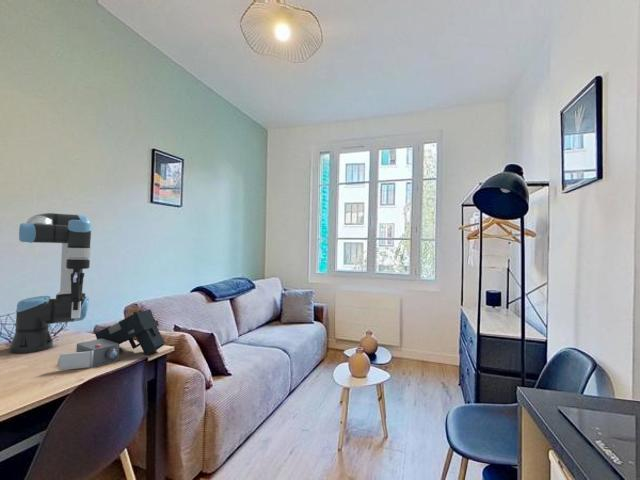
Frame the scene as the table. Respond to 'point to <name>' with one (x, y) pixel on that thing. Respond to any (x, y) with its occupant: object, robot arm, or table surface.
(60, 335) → the table surface
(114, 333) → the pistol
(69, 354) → the door
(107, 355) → the camera body
